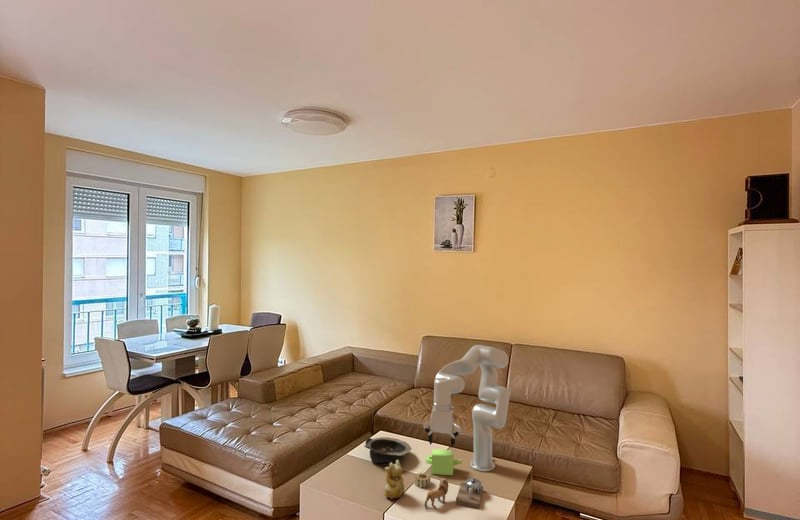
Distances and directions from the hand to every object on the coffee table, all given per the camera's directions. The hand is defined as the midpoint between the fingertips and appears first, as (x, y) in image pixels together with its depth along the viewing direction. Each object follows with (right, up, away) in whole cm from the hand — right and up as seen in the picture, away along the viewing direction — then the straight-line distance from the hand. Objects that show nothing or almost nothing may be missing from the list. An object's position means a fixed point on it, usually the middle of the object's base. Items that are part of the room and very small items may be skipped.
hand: (441, 444), depth 189 cm
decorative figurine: (-21, -24, 0) cm, 31 cm away
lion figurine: (-3, -24, -5) cm, 25 cm away
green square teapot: (+4, -24, +24) cm, 34 cm away
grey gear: (+15, -22, +4) cm, 27 cm away
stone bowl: (-25, -24, +37) cm, 50 cm away
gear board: (+13, -24, 0) cm, 27 cm away
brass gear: (-8, -24, +11) cm, 27 cm away
